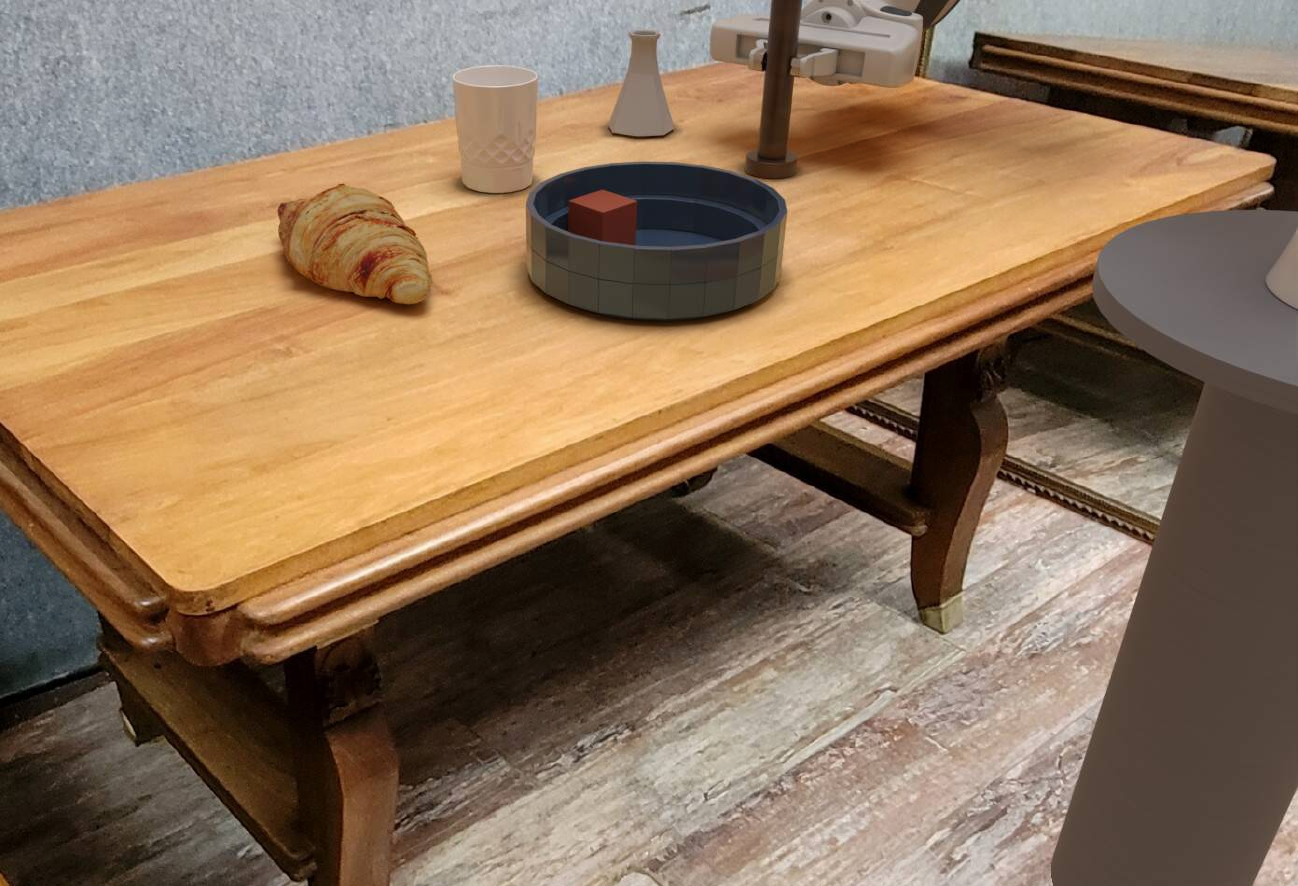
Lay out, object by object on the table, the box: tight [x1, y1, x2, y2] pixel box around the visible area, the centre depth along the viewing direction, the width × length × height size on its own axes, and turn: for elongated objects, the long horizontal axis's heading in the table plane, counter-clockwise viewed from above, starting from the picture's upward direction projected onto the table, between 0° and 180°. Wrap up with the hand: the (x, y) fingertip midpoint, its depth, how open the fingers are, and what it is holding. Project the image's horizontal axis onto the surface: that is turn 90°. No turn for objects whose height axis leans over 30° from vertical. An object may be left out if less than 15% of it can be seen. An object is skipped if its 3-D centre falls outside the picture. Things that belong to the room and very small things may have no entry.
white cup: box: [451, 64, 539, 194], centre depth 116 cm, size 8×8×10 cm
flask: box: [607, 28, 675, 137], centre depth 131 cm, size 7×7×10 cm
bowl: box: [525, 160, 788, 322], centre depth 98 cm, size 20×20×6 cm
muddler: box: [744, 0, 803, 180], centre depth 117 cm, size 5×5×18 cm
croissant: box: [277, 183, 433, 305], centre depth 99 cm, size 21×10×8 cm, turn 40°
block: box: [568, 190, 637, 246], centre depth 102 cm, size 4×4×4 cm
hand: (776, 65), depth 116 cm, fingers open, 3 cm apart
